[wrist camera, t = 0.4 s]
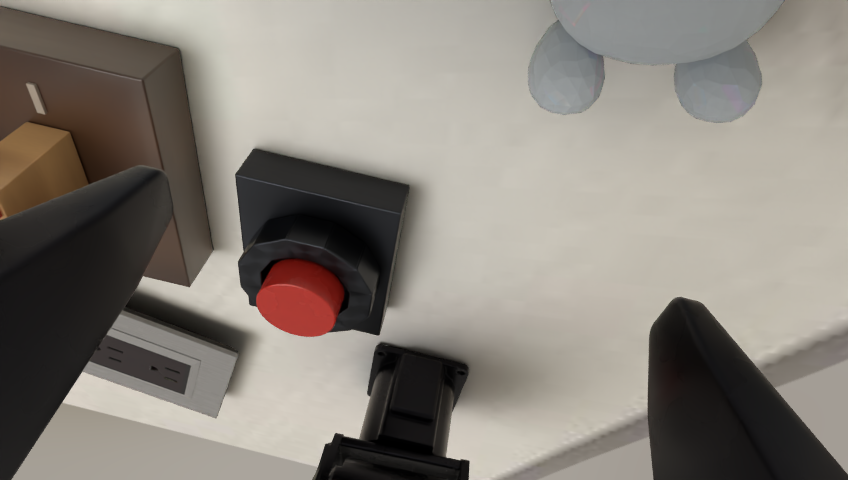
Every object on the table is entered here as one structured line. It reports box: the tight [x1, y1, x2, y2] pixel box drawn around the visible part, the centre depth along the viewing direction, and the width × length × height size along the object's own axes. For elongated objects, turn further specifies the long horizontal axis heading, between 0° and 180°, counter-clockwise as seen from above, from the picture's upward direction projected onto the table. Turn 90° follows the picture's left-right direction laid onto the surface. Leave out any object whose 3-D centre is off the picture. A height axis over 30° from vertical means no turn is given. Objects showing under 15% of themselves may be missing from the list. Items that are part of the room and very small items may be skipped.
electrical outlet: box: [82, 307, 239, 418], centre depth 39 cm, size 13×10×2 cm
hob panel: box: [0, 7, 213, 287], centre depth 27 cm, size 13×10×3 cm
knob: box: [0, 122, 89, 220], centre depth 24 cm, size 6×2×5 cm, turn 171°
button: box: [256, 258, 345, 337], centre depth 27 cm, size 4×4×2 cm
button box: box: [235, 149, 409, 335], centre depth 28 cm, size 10×8×4 cm
